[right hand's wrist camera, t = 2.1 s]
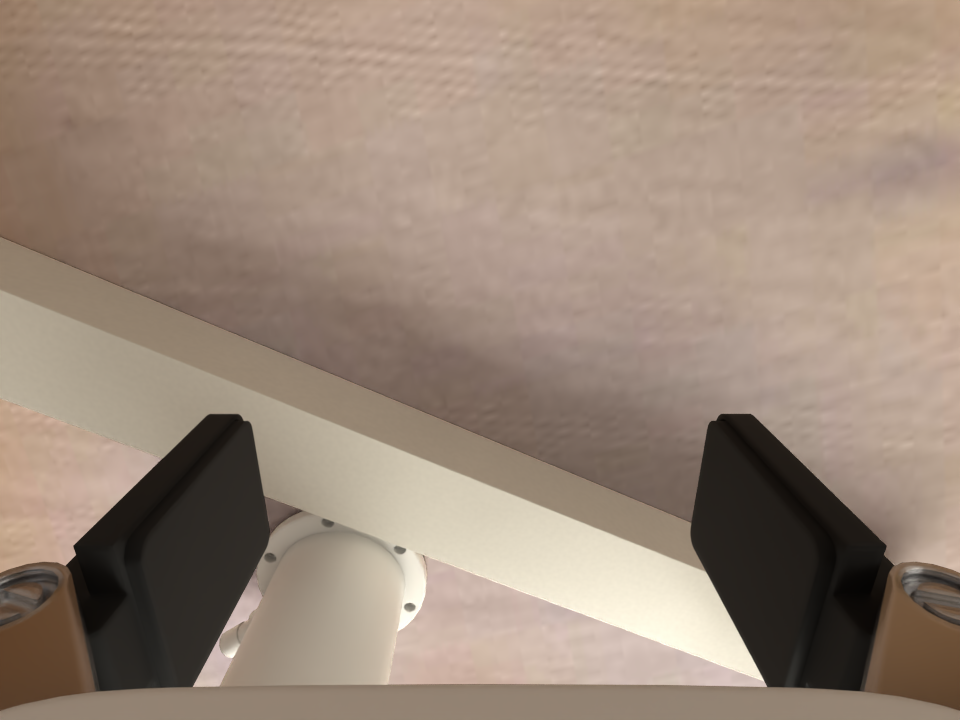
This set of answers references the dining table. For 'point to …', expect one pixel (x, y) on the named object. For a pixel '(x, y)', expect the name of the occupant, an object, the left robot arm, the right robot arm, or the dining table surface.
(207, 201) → the dining table surface
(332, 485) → the bar
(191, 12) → the dining table surface
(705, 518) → the right robot arm
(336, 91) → the dining table surface
